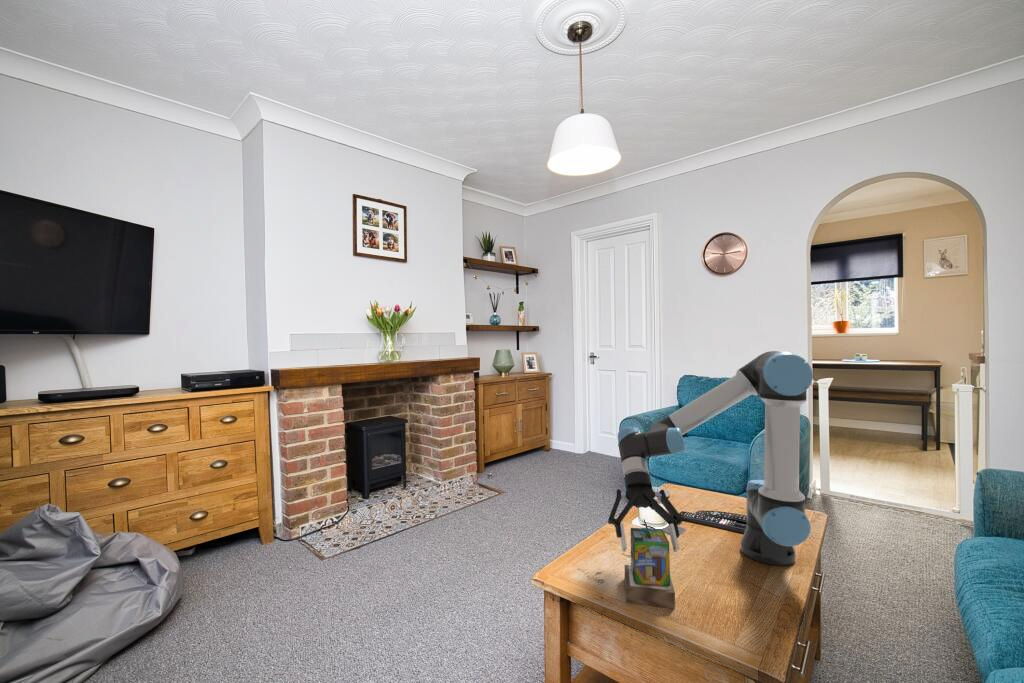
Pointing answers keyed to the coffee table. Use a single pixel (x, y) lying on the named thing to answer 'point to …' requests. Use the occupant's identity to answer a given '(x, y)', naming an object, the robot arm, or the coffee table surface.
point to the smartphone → (678, 529)
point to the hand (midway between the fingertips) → (650, 550)
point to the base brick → (648, 592)
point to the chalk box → (650, 556)
